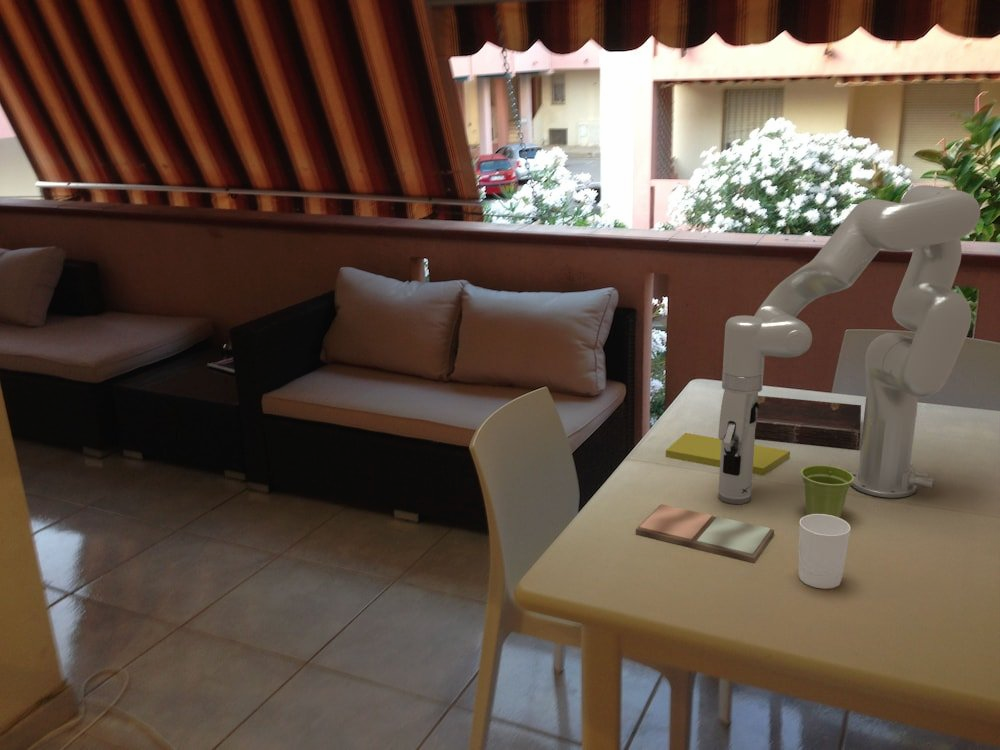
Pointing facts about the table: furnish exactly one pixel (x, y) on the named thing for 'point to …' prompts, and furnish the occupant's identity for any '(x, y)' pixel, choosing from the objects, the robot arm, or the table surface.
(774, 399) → the hardback book
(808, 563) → the white cup
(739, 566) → the table surface
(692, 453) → the flat olive board
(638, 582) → the table surface
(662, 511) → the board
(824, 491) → the plant pot
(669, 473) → the table surface
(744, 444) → the travel mug
